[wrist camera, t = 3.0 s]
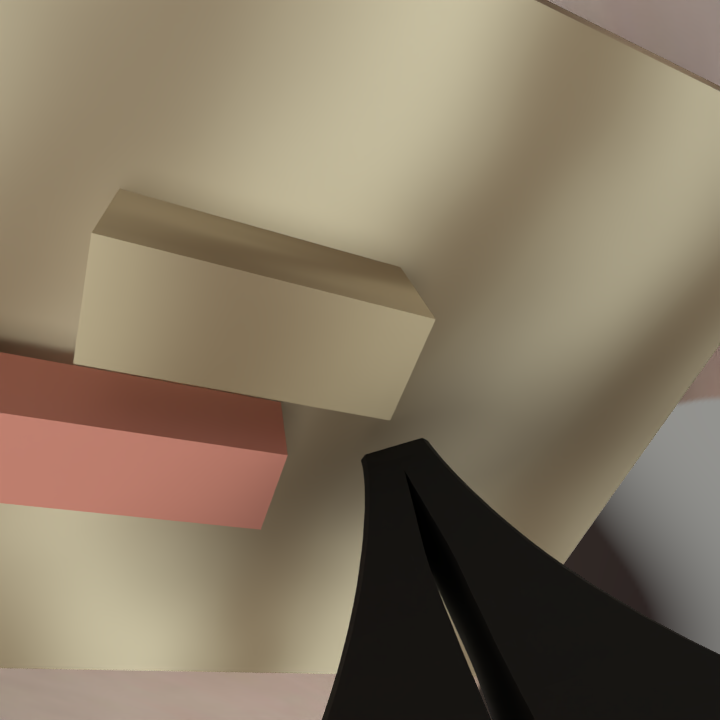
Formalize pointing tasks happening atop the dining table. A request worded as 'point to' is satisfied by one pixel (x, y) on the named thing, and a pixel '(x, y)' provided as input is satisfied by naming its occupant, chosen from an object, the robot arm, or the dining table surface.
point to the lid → (340, 285)
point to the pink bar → (135, 445)
